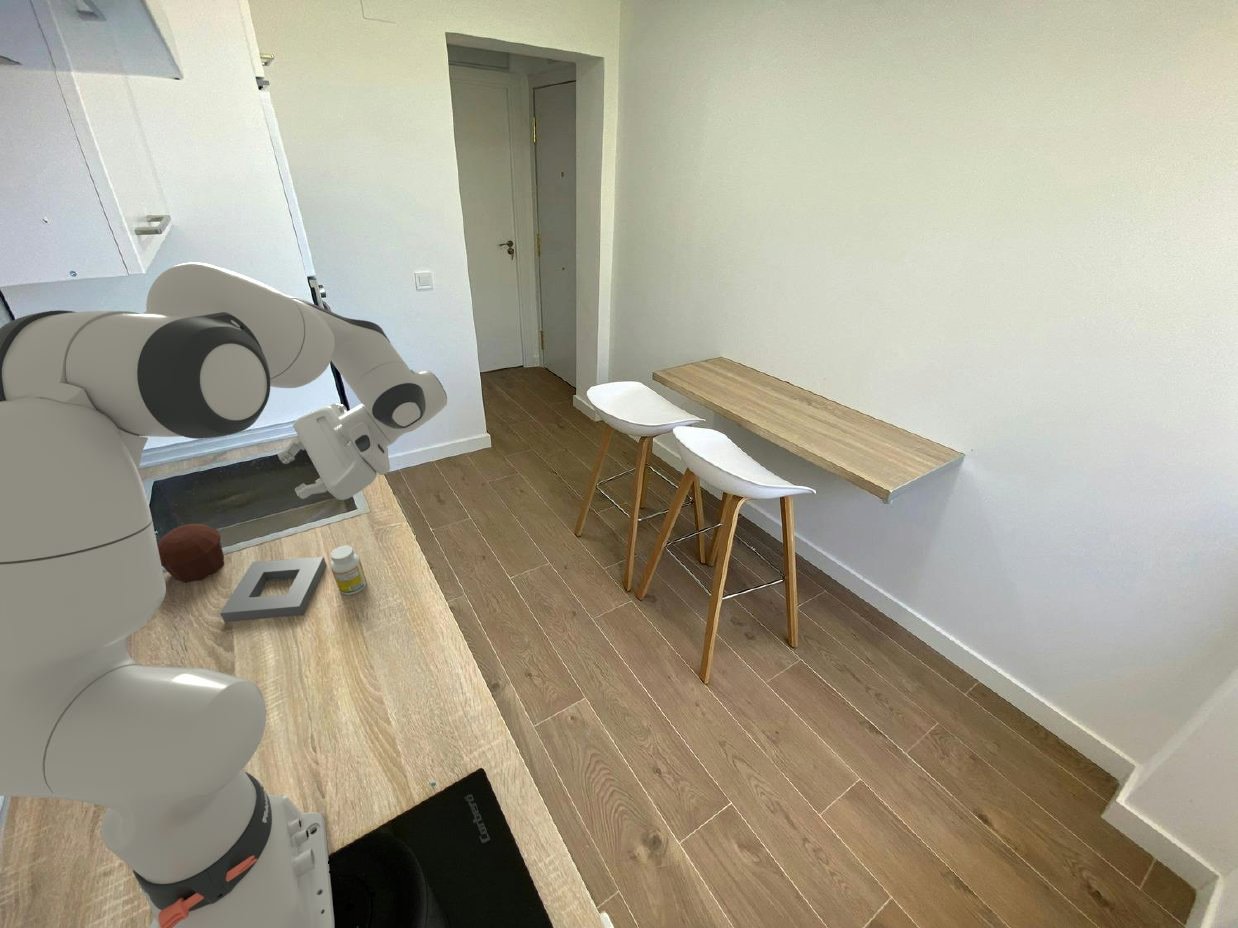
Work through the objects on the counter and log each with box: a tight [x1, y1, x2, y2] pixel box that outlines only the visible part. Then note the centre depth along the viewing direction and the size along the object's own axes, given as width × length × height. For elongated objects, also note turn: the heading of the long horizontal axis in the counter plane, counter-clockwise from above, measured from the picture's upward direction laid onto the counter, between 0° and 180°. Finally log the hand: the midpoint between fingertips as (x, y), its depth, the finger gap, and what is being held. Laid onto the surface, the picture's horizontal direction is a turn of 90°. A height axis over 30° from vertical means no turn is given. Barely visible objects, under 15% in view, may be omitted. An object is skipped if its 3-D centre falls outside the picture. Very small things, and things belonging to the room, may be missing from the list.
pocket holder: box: [219, 556, 327, 623], centre depth 103 cm, size 14×14×2 cm
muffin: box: [157, 523, 225, 584], centre depth 106 cm, size 12×11×10 cm
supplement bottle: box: [330, 545, 367, 596], centre depth 103 cm, size 5×5×10 cm
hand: (289, 476), depth 87 cm, fingers open, 8 cm apart
